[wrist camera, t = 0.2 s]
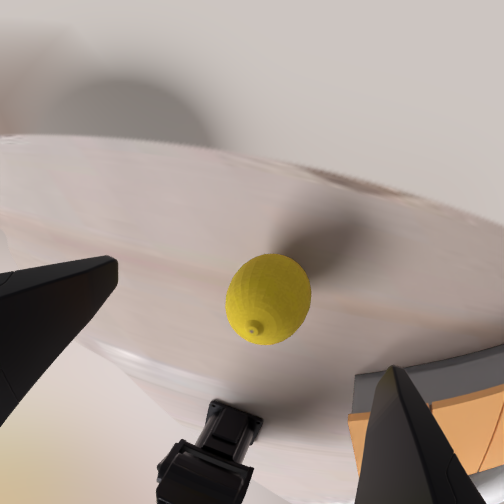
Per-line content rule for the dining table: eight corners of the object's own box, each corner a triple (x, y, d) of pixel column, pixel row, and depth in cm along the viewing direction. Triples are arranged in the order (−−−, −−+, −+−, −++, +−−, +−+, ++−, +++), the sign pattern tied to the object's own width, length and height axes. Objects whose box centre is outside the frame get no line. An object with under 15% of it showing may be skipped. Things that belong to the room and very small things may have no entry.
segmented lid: (363, 477, 27) (352, 543, 19) (349, 403, 23) (335, 496, 15) (524, 442, 19) (536, 503, 11) (560, 351, 15) (597, 424, 7)
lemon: (298, 227, 23) (272, 276, 16) (328, 290, 24) (315, 357, 17) (236, 253, 25) (190, 305, 18) (267, 310, 26) (235, 374, 19)
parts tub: (367, 451, 30) (363, 484, 26) (354, 375, 26) (351, 416, 22) (517, 419, 23) (525, 449, 18) (543, 330, 19) (563, 363, 14)
